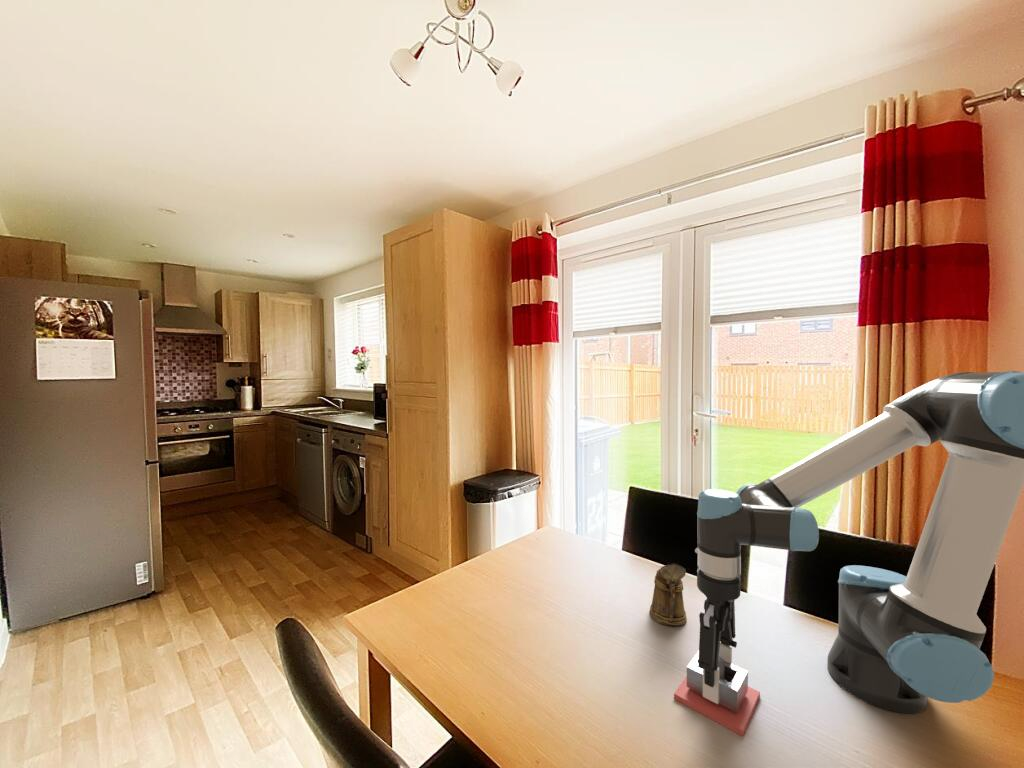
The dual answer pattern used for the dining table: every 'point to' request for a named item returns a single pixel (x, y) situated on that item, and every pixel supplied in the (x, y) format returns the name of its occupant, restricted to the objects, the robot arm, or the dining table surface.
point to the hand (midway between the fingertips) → (717, 687)
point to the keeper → (718, 711)
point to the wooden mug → (669, 596)
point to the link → (721, 683)
